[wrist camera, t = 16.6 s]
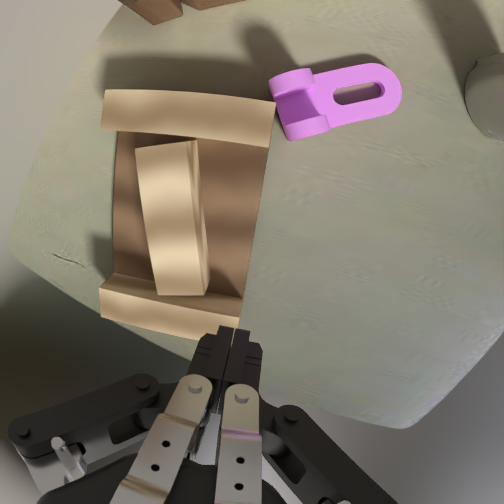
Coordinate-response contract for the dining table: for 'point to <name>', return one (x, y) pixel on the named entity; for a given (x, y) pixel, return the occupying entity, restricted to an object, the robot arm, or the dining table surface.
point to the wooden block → (169, 8)
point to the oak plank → (174, 217)
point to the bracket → (330, 98)
